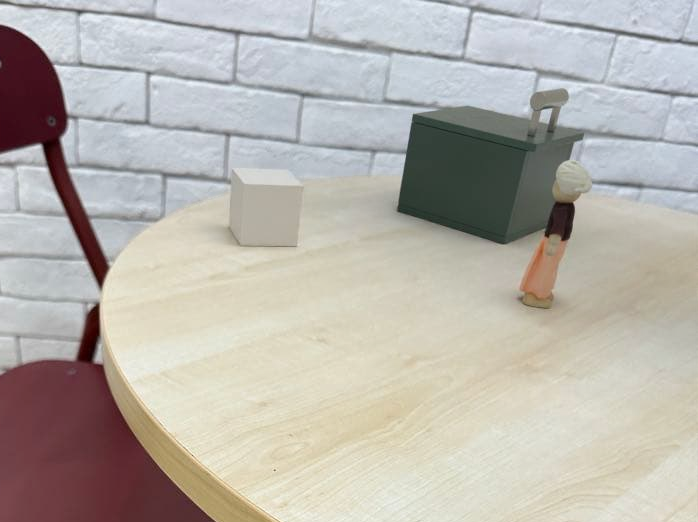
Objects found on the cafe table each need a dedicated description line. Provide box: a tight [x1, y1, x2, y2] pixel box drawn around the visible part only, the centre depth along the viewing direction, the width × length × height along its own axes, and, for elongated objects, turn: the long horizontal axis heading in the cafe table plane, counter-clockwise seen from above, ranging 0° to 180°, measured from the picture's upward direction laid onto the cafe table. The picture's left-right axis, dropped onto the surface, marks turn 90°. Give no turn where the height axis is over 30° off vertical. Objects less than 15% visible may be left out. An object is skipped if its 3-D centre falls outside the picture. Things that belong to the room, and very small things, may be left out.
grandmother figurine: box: [518, 159, 593, 309], centre depth 78 cm, size 8×4×13 cm, turn 168°
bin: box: [396, 121, 575, 245], centre depth 100 cm, size 15×13×10 cm
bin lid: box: [411, 87, 585, 152], centre depth 95 cm, size 16×13×5 cm
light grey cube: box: [228, 167, 304, 247], centre depth 87 cm, size 6×6×6 cm
